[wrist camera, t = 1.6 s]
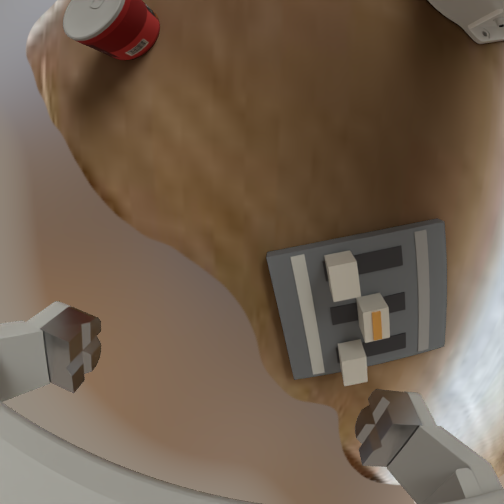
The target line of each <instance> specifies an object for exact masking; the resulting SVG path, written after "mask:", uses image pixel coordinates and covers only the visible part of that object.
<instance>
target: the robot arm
mask: <svg viewBox="0 0 504 504" xmlns="http://www.w3.org/2000/svg"><path fill="white" fill-rule="evenodd" d="M428 1H429V2H430V3H431V4H432V5H433V6H434V7H435V8H436V9H437V10H438V11H439V12H440V13H442V14H443V15H444V16H446V17H447V18H449V19H450V20H452V21H453V22H455V23H456V24H458V25H459V26H461V27H462V28H463V29H464V30H465V32H466V33H467V34H468V35H469V36H470V37H471V38H472V39H473V40H474V41H475V42H476V43H478V44H484V43H491V42H497V41H504V0H428ZM483 34H484V35H485V36H484V35H483ZM100 332H101V321H100V319H99V318H98V317H95V316H93V315H90V314H88V313H86V312H83V311H81V310H78V309H76V308H74V307H71V306H69V305H67V304H64V303H62V302H58V301H57V302H56V301H55V302H54V303H53V304H51V305H50V306H48V307H47V308H45V309H44V310H43V311H41V312H40V313H38V314H37V315H36V316H34V317H33V318H32V319H30V320H28V321H27V322H24V321H15V322H9V323H1V324H0V504H259V503H253V502H248V501H242V500H237V499H231V498H227V497H221V496H217V495H213V494H208V493H204V492H200V491H196V490H193V489H189V488H185V487H181V486H178V485H175V484H171V483H168V482H165V481H162V480H159V479H156V478H153V477H150V476H147V475H144V474H141V473H139V472H136V471H133V470H130V469H128V468H125V467H123V466H120V465H117V464H115V463H113V462H110V461H108V460H106V459H103V458H101V457H99V456H97V455H94V454H92V453H90V452H88V451H86V450H84V449H82V448H79V447H77V446H75V445H73V444H71V443H69V442H67V441H66V440H64V439H62V438H60V437H58V436H56V435H54V434H52V433H51V432H49V431H47V430H45V429H43V428H42V427H40V426H38V425H37V424H35V423H33V422H32V421H30V420H28V419H27V418H25V417H23V416H22V415H20V414H19V413H17V412H16V411H14V410H13V409H11V408H9V407H8V406H7V405H5V404H4V403H2V402H3V401H5V400H8V399H11V398H14V397H16V396H19V395H21V394H24V393H27V392H29V391H32V390H34V389H37V388H40V387H42V386H45V385H47V384H50V382H51V383H53V384H55V385H57V386H59V387H61V388H64V389H66V390H68V391H70V392H72V393H74V392H75V391H76V390H77V389H78V388H79V386H80V385H81V384H82V382H84V374H85V373H88V372H91V371H93V369H94V368H95V367H96V365H97V363H98V360H99V358H100V353H101V343H100V341H99V339H98V337H97V335H98V334H99V333H100ZM368 400H369V406H367V407H365V408H364V409H362V410H361V412H360V414H359V416H358V418H357V421H356V425H355V434H356V438H357V439H358V440H359V441H360V442H361V443H362V445H361V447H360V448H359V452H360V457H361V462H362V465H363V466H382V467H387V469H388V470H389V471H390V473H391V474H392V475H393V476H394V477H395V479H396V480H397V481H398V482H399V483H400V484H401V486H402V487H403V488H404V489H405V490H406V491H407V493H408V494H409V495H410V496H411V497H412V499H413V500H414V501H415V502H416V503H417V504H504V489H503V487H502V485H501V483H500V481H499V479H498V477H497V475H496V473H495V471H494V469H493V467H492V465H491V463H489V462H488V461H487V460H485V459H484V458H483V457H481V456H480V455H478V454H477V453H476V452H474V451H473V450H472V449H470V448H469V447H468V446H466V445H465V444H464V443H462V442H461V441H460V440H458V439H457V438H456V437H454V436H453V435H452V434H450V433H449V432H448V431H446V430H445V429H444V428H442V427H441V426H437V425H436V423H435V421H434V419H433V417H432V415H431V413H430V411H429V409H428V407H427V405H426V403H425V401H424V399H423V398H422V396H421V394H419V393H417V392H399V391H389V390H381V389H375V390H374V391H373V392H372V393H371V395H370V397H369V398H368Z"/></svg>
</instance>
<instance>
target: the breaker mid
mask: <svg viewBox="0 0 504 504" xmlns="http://www.w3.org/2000/svg"><path fill="white" fill-rule="evenodd" d="M356 301H357V310H358V319H359V327H360V330H361V332H362V335H363V338H364V341H365V343H368V342H372V341H377V340H381V339H385V338H389V337H390V324H389V307H388V305H387V304H386V302H385V300H384V299H383V297H382V295H381V294H380V293H376V294H371V295H366V296H362V297H357V298H356Z"/></svg>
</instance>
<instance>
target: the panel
mask: <svg viewBox="0 0 504 504" xmlns="http://www.w3.org/2000/svg"><path fill="white" fill-rule="evenodd" d="M348 250H350V251H351V253H352V255H353V256H354V258H355V259H356V261H357V267H358V275H359V283H360V292H361V297H362V296H366V295H371V294H376V293H380V294H381V295H382V297H383V299H384V300H385V302H386V304H387V305H388V307H389V324H390V337H389V338H385V339H381V340H377V341H372V342H368V343H365V341H364V338H363V335H362V332H361V330H360V327H359V319H358V310H357V301H356V298H352V299H347V300H342V301H337V302H334V301H333V298H332V294H331V291H330V287H329V281H328V275H327V269H326V263H325V257H324V255H328V254H333V253H338V252H343V251H348ZM266 258H267V262H268V267H269V271H270V275H271V280H272V284H273V288H274V293H275V297H276V301H277V306H278V310H279V315H280V319H281V323H282V328H283V332H284V337H285V341H286V345H287V350H288V354H289V359H290V363H291V368H292V372H293V377H294V380H296V379H302V378H309V377H315V376H321V375H326V374H332V373H337V372H341V367H340V359H339V350H338V343H344V342H349V341H353V340H358V339H361V342H362V345H363V348H364V351H365V354H366V360H367V366H371V365H376V364H380V363H385V362H389V361H393V360H397V359H401V358H405V357H409V356H412V355H416V354H420V353H423V352H427V351H430V350H434V349H437V348H441V347H444V344H445V329H446V308H447V259H446V237H445V223H444V221H442V220H440V219H438V218H437V219H432V220H427V221H422V222H417V223H412V224H407V225H402V226H397V227H392V228H387V229H382V230H377V231H372V232H367V233H362V234H357V235H352V236H347V237H342V238H337V239H331V240H326V241H321V242H316V243H311V244H306V245H301V246H296V247H291V248H286V249H281V250H276V251H271V252H267V256H266Z"/></svg>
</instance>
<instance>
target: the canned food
mask: <svg viewBox="0 0 504 504" xmlns="http://www.w3.org/2000/svg"><path fill="white" fill-rule="evenodd" d="M63 29H64V31H65V33H66V35H67V36H68V37H70V38H71V39H73V40H75V41H78V42H79V43H82V44H84V45H86V46H89V47H91V48H93V49H96V50H98V51H100V52H102V53H105V54H107V55H109V56H111V57H113V58H116V59H119V60H130V59H134V58H137V57H139V56H141V55H143V54H144V53H145V52H147V51H148V50H149V49H150V48H151V47H152V45H153V44H154V43H155V41H156V39H157V37H158V35H159V30H160V24H159V20H158V17H157V15H156V13H154V12H153V11H152V10H151V9H150V8H149V7H148V6H147V5H146V4H145V3H144V2H143V1H142V0H71V2H70V4H69V5H68V7H67V9H66V12H65V15H64V18H63Z"/></svg>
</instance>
